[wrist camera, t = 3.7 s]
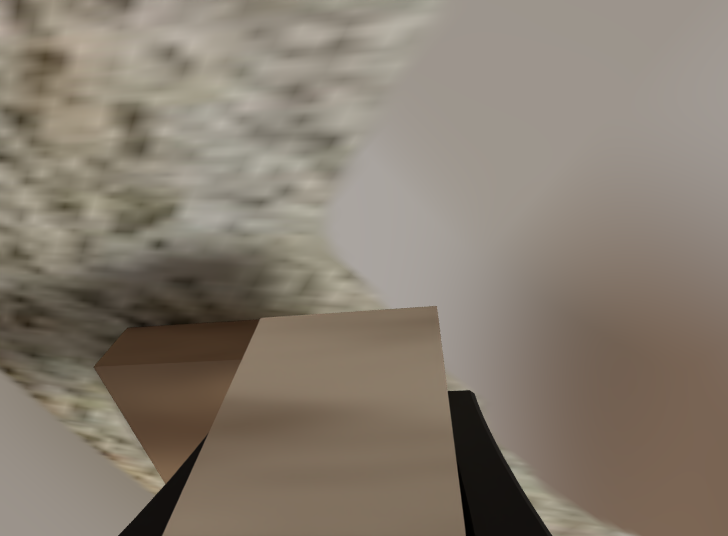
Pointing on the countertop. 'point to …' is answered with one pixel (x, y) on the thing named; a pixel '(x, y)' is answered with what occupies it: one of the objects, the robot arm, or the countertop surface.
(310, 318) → the ash block
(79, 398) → the countertop surface
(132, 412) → the walnut block
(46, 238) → the countertop surface
